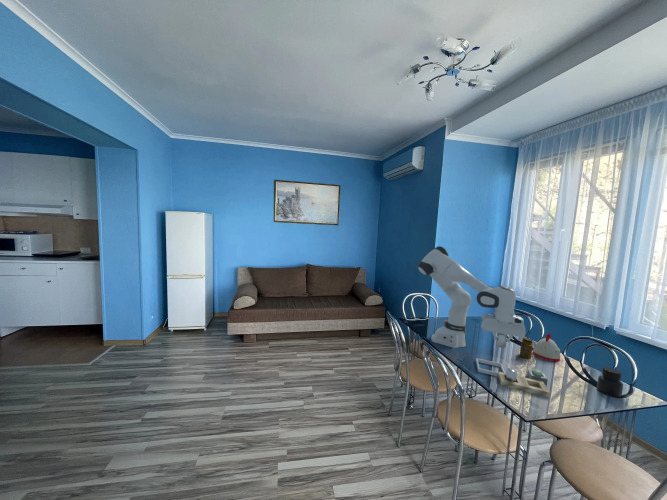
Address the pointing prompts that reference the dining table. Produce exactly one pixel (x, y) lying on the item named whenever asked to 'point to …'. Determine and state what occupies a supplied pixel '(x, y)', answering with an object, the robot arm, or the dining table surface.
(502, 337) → the grey metal cylinder
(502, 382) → the frame
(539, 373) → the button
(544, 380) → the button housing
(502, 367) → the white square tray
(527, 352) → the condiment
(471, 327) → the dining table surface
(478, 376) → the dining table surface
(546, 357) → the white red dome
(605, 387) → the ink bottle
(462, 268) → the robot arm
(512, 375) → the silver domed cylinder
